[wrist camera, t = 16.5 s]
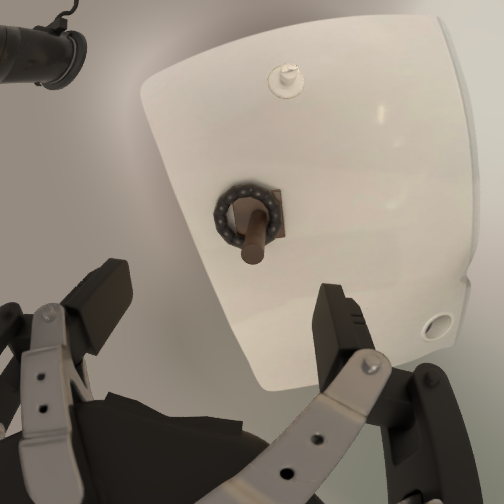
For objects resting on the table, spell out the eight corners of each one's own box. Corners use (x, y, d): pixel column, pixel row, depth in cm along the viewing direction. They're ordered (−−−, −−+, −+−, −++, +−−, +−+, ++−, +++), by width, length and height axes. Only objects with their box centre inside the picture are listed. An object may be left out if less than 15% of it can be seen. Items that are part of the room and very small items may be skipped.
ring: (210, 188, 38) (207, 191, 37) (277, 179, 37) (278, 182, 35) (222, 249, 42) (219, 254, 41) (284, 243, 41) (285, 248, 39)
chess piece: (263, 71, 31) (259, 53, 22) (297, 62, 30) (305, 42, 21) (274, 102, 33) (274, 94, 24) (308, 94, 32) (320, 83, 23)
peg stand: (232, 194, 40) (213, 226, 28) (280, 189, 39) (283, 220, 27) (239, 238, 43) (225, 285, 31) (284, 234, 42) (288, 280, 30)
